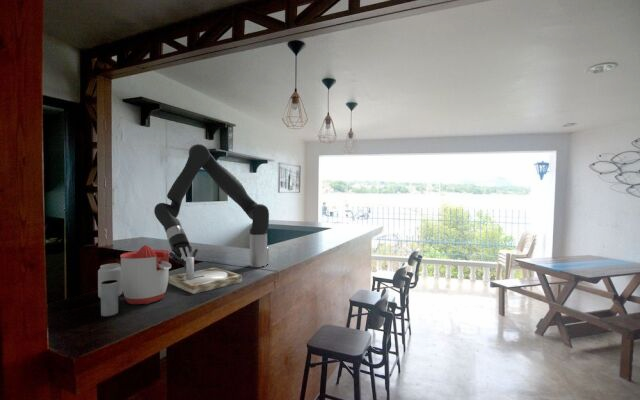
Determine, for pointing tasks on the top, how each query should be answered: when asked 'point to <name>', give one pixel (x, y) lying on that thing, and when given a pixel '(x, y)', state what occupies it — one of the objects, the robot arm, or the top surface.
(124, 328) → the top surface
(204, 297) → the top surface
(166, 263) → the citrus juicer
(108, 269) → the can
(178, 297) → the top surface
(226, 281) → the dial housing
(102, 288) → the grey tall cylinder
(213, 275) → the dial
